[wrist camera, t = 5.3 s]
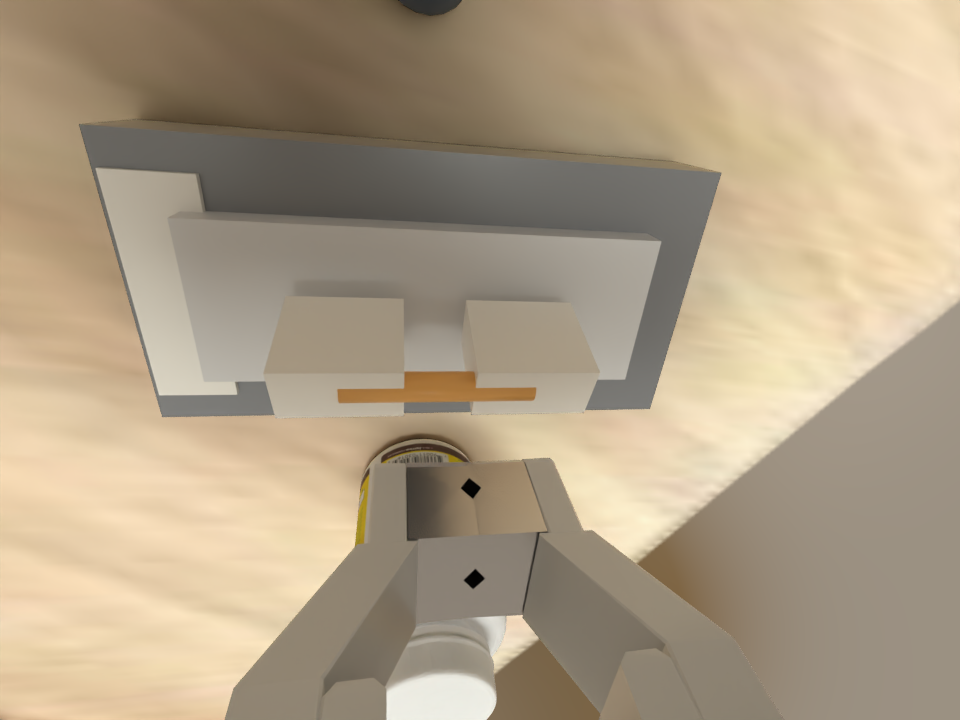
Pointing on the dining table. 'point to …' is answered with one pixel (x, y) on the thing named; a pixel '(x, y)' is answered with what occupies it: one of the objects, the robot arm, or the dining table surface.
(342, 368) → the double breaker paddle
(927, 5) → the dining table surface
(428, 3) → the vaping device
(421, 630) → the supplement bottle
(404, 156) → the panel
